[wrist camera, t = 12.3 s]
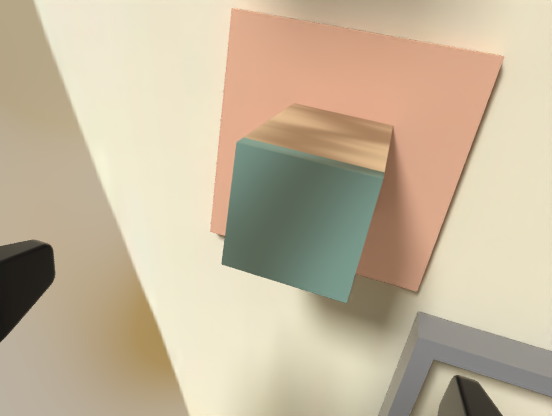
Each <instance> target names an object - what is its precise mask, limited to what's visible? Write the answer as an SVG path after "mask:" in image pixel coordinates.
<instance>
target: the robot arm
mask: <svg viewBox="0 0 552 416" xmlns="http://www.w3.org/2000/svg"><path fill="white" fill-rule="evenodd" d="M54 278H55V264H54V253H53V248H52V247H51V245H49V244H47V243H44V242H41V241H38V240H28V241H23V242H18V243H14V244H9V245H4V246H0V342H1V341H2V340H3V339H4V338H5V337H6V336H7V335H8V334H9V333H10V332H11V331H12V329H13V328H14V327H15V326H16V325H17V324H18V323H19V321H20V320H21V319H22V318H23V317H24V316H25V314H26V313H27V312H28V311H29V310H30V309H31V307H32V306H33V305H34V304H35V303H36V302H37V300H38V299H39V298H40V297H41V296H42V295H43V293H44V292H45V291H46V290H47V289H48V288H49V287H50V285H51V284H52V282H53V280H54ZM437 416H503V415H502V414H501V413H500V411H499V410H498V408H497V407H496V406H495V404H494V403H493V401H492V400H491V399H490V397H489V396H488V395H487V393H486V392H485V390H484V389H483V388H482V386H481V385H480V384H479V383H478V382H477V381H475V380H472V379H469V378H466V377H463V376H460V375H456V376H454V377H453V378H452V379H451V381H450V383H449V385H448V388H447V390H446V392H445V394H444V396H443V398H442V400H441V403H440V405H439V409H438V415H437Z"/></svg>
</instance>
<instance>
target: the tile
mask: <svg viewBox="0 0 552 416" xmlns="http://www.w3.org/2000/svg"><path fill="white" fill-rule="evenodd" d="M503 59H504V56H501V55H495V54H490V53H484V52H479V51H473V50H467V49H462V48H456V47H450V46H445V45H439V44H433V43H428V42H422V41H416V40H411V39H405V38H400V37H394V36H388V35H383V34H377V33H371V32H366V31H360V30H354V29H349V28H343V27H337V26H332V25H326V24H321V23H315V22H309V21H304V20H298V19H292V18H287V17H281V16H275V15H270V14H264V13H258V12H253V11H247V10H242V9H235V8H232V11H231V21H230V32H229V42H228V53H227V63H226V73H225V84H224V94H223V105H222V115H221V126H220V136H219V146H218V157H217V167H216V178H215V188H214V199H213V209H212V219H211V230H210V232H213V233H216V234H220V235H223V236H225V232H226V223H227V215H228V207H229V199H230V191H231V183H232V175H233V166H234V158H235V150H236V142H237V141H239V140H240V139H242V138H243V137H245V136H246V135H248V134H249V133H251V132H252V131H254V130H255V129H257V128H258V127H260V126H261V125H262V124H264V123H265V122H267V121H268V120H270V119H271V118H273V117H274V116H276V115H277V114H279V113H280V112H282V111H283V110H285V109H286V108H288V107H289V106H291V105H292V104H293V103H296V104H300V105H305V106H309V107H313V108H318V109H322V110H327V111H331V112H336V113H340V114H344V115H349V116H353V117H358V118H362V119H367V120H371V121H375V122H380V123H384V124H389V125H393V129H392V134H391V140H390V145H389V151H388V156H387V162H386V167H385V173H384V178H383V182H382V185H381V189H380V192H379V196H378V199H377V202H376V206H375V209H374V213H373V216H372V219H371V223H370V226H369V230H368V233H367V236H366V240H365V243H364V247H363V250H362V253H361V257H360V260H359V264H358V267H357V270H356V274H357V275H361V276H364V277H368V278H371V279H375V280H378V281H381V282H385V283H388V284H392V285H395V286H399V287H402V288H406V289H409V290H412V291H416V292H417V291H418V288H419V285H420V283H421V280H422V277H423V275H424V272H425V269H426V266H427V264H428V261H429V258H430V256H431V253H432V250H433V248H434V245H435V242H436V239H437V237H438V234H439V231H440V229H441V226H442V223H443V221H444V218H445V215H446V213H447V210H448V207H449V204H450V202H451V199H452V196H453V194H454V191H455V188H456V186H457V183H458V180H459V177H460V175H461V172H462V169H463V167H464V164H465V161H466V159H467V156H468V153H469V151H470V148H471V145H472V142H473V140H474V137H475V134H476V132H477V129H478V126H479V124H480V121H481V118H482V115H483V113H484V110H485V107H486V105H487V102H488V99H489V97H490V94H491V91H492V89H493V86H494V83H495V80H496V78H497V75H498V72H499V70H500V67H501V64H502V62H503Z"/></svg>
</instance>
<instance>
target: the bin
mask: <svg viewBox="0 0 552 416" xmlns="http://www.w3.org/2000/svg"><path fill="white" fill-rule="evenodd" d="M433 360H437V361H441V362H444V363H447V364H450V365H453V366H456V367H459V368H462V369H466V370H469V371H472V372H475V373H478V374H481V375H484V376H488V377H491V378H494V379H497V380H500V381H503V382H506V383H510V384H513V385H516V386H519V387H522V388H525V389H528V390H532V391H535V392H538V393H541V394H544V395H547V396H550V397H552V351H548V350H545V349H542V348H538V347H535V346H532V345H528V344H525V343H522V342H518V341H515V340H512V339H508V338H505V337H502V336H498V335H495V334H492V333H488V332H485V331H481V330H478V329H475V328H471V327H468V326H465V325H461V324H458V323H455V322H451V321H448V320H445V319H441V318H438V317H435V316H431V315H428V314H425V313H421V312H418V313H417V316H416V318H415V321H414V324H413V326H412V329H411V331H410V334H409V337H408V339H407V342H406V345H405V347H404V350H403V352H402V355H401V358H400V360H399V363H398V365H397V368H396V371H395V373H394V376H393V379H392V381H391V384H390V386H389V389H388V392H387V394H386V397H385V400H384V402H383V405H382V407H381V410H380V413H379V415H378V416H409V415H410V413H411V411H412V408H413V406H414V404H415V402H416V399H417V397H418V395H419V392H420V390H421V388H422V385H423V383H424V381H425V378H426V376H427V374H428V371H429V369H430V367H431V364H432V362H433Z"/></svg>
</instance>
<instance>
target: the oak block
mask: <svg viewBox="0 0 552 416" xmlns="http://www.w3.org/2000/svg"><path fill="white" fill-rule="evenodd" d="M392 129H393V125H389V124H384V123H380V122H375V121H371V120H367V119H362V118H358V117H353V116H349V115H344V114H340V113H336V112H331V111H327V110H322V109H318V108H313V107H309V106H305V105H300V104H296V103H293V104H292V105H291V106H289V107H288V108H286V109H285V110H283V111H282V112H280V113H279V114H277V115H276V116H274V117H273V118H271V119H270V120H268V121H267V122H265V123H264V124H262V125H261V126H260V127H258V128H257V129H255V130H254V131H252V132H251V133H249V134H248V135H246V136H245V137H243V138H242V139H240V140H239V141H237V142H236V150H235V158H234V166H233V175H232V183H231V191H230V199H229V207H228V215H227V223H226V232H225V240H224V248H223V256H222V265H225V266H229V267H232V268H235V269H238V270H241V271H245V272H248V273H251V274H254V275H257V276H261V277H264V278H267V279H270V280H274V281H277V282H280V283H283V284H286V285H290V286H293V287H296V288H299V289H302V290H306V291H309V292H312V293H315V294H318V295H322V296H325V297H328V298H331V299H334V300H338V301H341V302H344V303H347V301H348V298H349V294H350V291H351V287H352V284H353V281H354V277H355V274H356V270H357V267H358V264H359V260H360V257H361V253H362V250H363V247H364V243H365V240H366V236H367V233H368V230H369V226H370V223H371V219H372V216H373V213H374V209H375V206H376V202H377V199H378V196H379V192H380V189H381V185H382V182H383V178H384V173H385V167H386V162H387V156H388V151H389V145H390V140H391V134H392Z"/></svg>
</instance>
